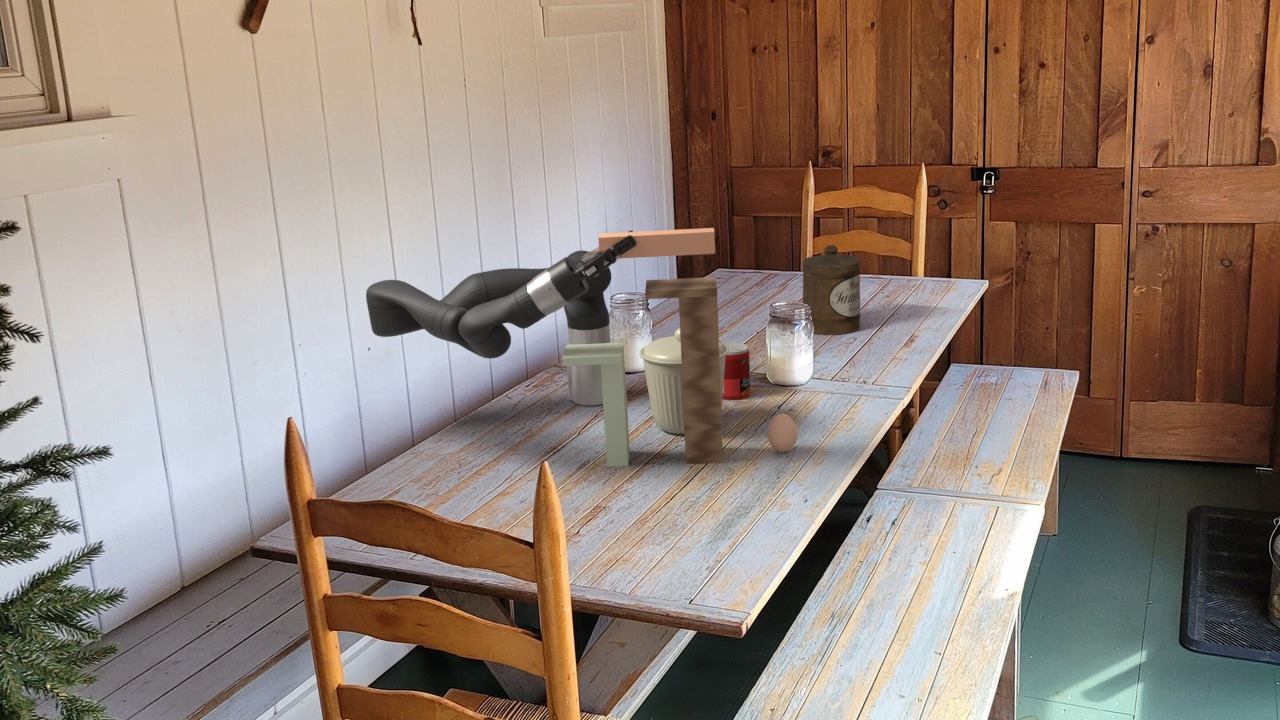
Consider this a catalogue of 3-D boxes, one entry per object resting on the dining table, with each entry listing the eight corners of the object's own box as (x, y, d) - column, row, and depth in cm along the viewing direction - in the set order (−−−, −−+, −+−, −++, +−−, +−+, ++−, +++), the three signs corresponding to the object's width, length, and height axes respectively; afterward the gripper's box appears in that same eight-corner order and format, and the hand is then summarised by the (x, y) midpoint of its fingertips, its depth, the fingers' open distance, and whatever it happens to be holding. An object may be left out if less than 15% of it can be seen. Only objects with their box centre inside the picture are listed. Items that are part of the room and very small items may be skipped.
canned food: (748, 400, 262) (747, 352, 259) (712, 400, 264) (710, 352, 261) (752, 389, 269) (751, 342, 266) (716, 389, 271) (715, 342, 268)
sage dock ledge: (570, 469, 229) (562, 358, 222) (574, 452, 237) (566, 344, 231) (628, 467, 228) (621, 355, 222) (629, 450, 237) (623, 342, 230)
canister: (670, 448, 237) (665, 345, 231) (628, 423, 252) (622, 326, 246) (748, 429, 244) (745, 329, 238) (702, 406, 260) (698, 312, 254)
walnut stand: (654, 466, 228) (645, 291, 218) (655, 449, 236) (646, 280, 227) (723, 463, 227) (717, 287, 218) (721, 446, 236) (715, 277, 226)
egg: (797, 457, 229) (796, 419, 226) (766, 456, 230) (765, 418, 227) (798, 446, 234) (798, 409, 232) (768, 445, 235) (768, 409, 233)
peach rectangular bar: (599, 259, 219) (598, 237, 218) (601, 254, 223) (599, 233, 222) (715, 253, 218) (714, 231, 217) (714, 249, 222) (713, 227, 221)
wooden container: (846, 337, 306) (846, 252, 300) (793, 332, 314) (792, 249, 308) (869, 323, 318) (869, 241, 312) (817, 318, 326) (816, 238, 320)
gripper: (541, 278, 215) (621, 226, 212) (549, 262, 229) (624, 213, 226) (565, 312, 217) (644, 261, 214) (571, 294, 231) (646, 246, 228)
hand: (634, 237), depth 220 cm, fingers closed on peach rectangular bar, 4 cm apart
